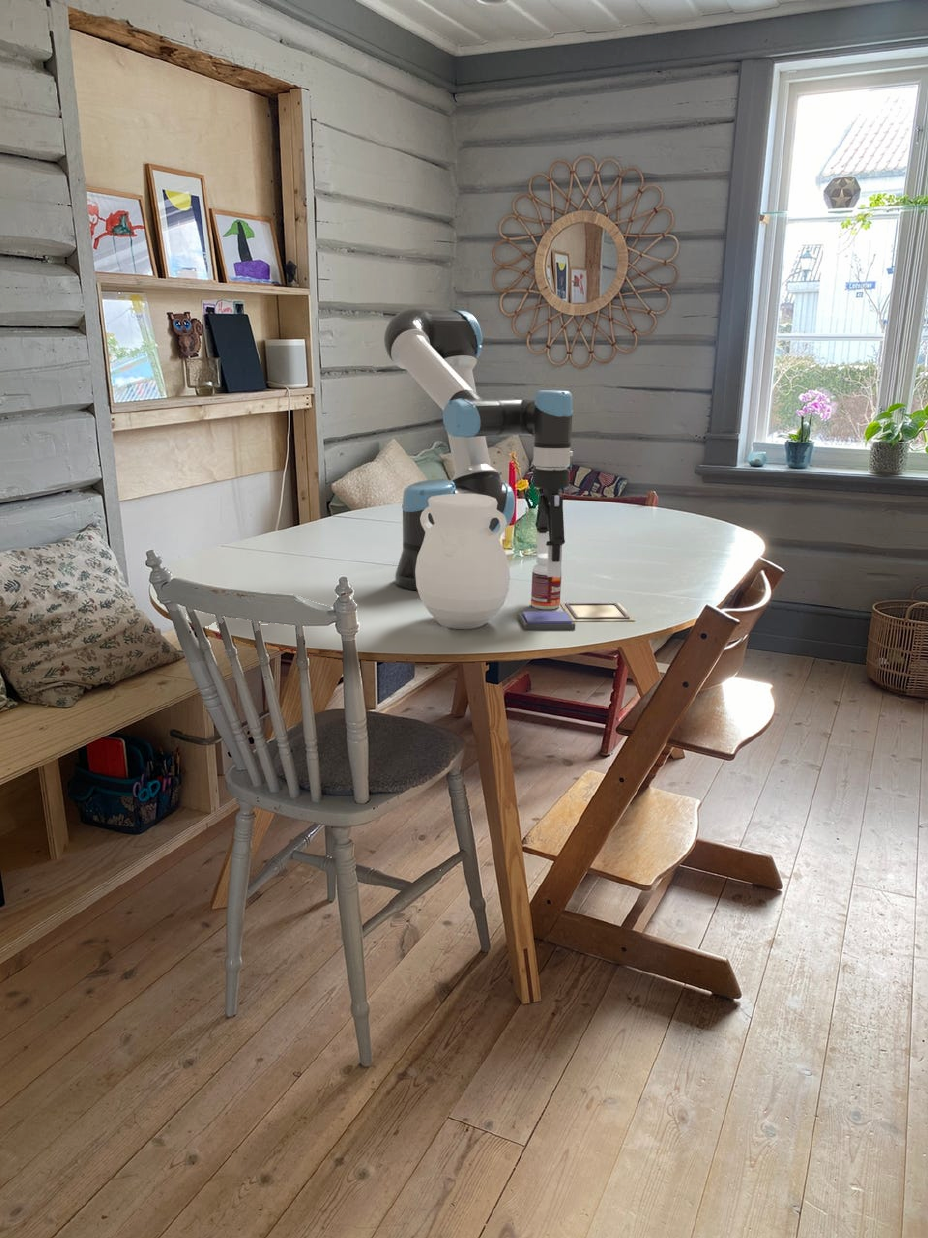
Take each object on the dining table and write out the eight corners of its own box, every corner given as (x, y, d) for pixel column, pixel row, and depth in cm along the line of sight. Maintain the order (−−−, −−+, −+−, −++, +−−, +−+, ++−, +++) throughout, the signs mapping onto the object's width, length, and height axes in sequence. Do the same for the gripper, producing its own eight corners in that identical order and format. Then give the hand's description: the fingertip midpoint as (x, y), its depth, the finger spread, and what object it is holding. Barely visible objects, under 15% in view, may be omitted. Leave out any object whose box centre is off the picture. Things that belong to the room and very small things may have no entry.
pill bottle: (555, 611, 199) (557, 560, 196) (527, 608, 201) (529, 557, 198) (563, 604, 204) (565, 554, 201) (535, 601, 206) (537, 551, 203)
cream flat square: (572, 621, 192) (572, 619, 192) (560, 604, 204) (560, 602, 204) (634, 621, 193) (635, 618, 193) (619, 603, 206) (619, 601, 205)
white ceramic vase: (399, 629, 184) (399, 501, 177) (435, 606, 201) (437, 488, 194) (490, 641, 178) (494, 509, 171) (520, 616, 195) (524, 495, 187)
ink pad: (524, 629, 186) (525, 622, 185) (518, 618, 193) (519, 610, 193) (575, 629, 187) (575, 621, 186) (567, 618, 194) (567, 610, 194)
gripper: (582, 475, 183) (577, 582, 188) (558, 461, 207) (555, 557, 212) (543, 475, 182) (540, 582, 188) (524, 461, 206) (521, 557, 212)
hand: (548, 569), depth 200 cm, fingers open, 13 cm apart
